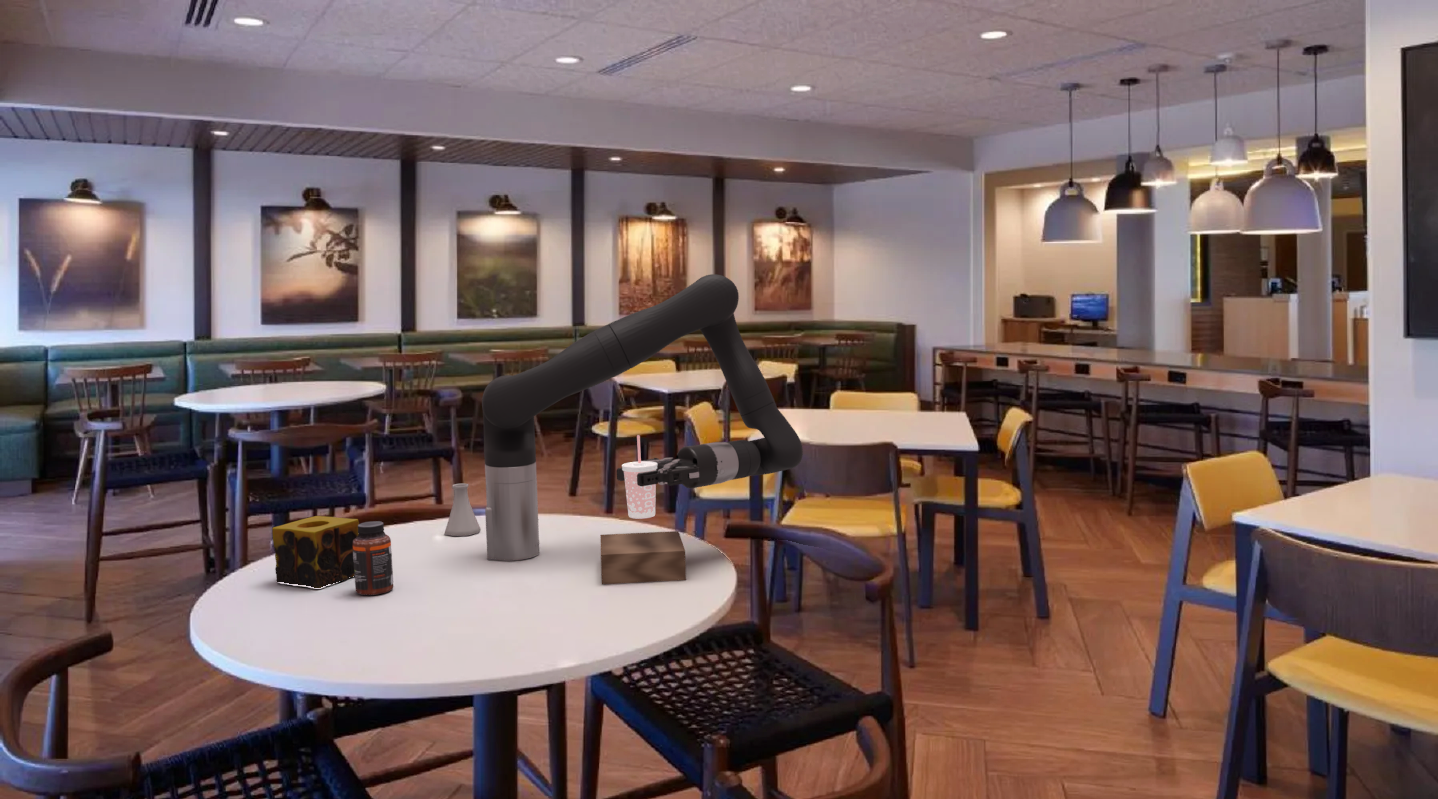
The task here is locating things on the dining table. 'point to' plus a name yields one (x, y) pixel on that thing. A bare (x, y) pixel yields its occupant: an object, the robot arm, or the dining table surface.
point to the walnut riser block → (642, 557)
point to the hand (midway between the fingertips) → (628, 477)
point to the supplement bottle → (372, 559)
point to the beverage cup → (639, 488)
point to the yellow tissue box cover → (315, 550)
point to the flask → (461, 514)
